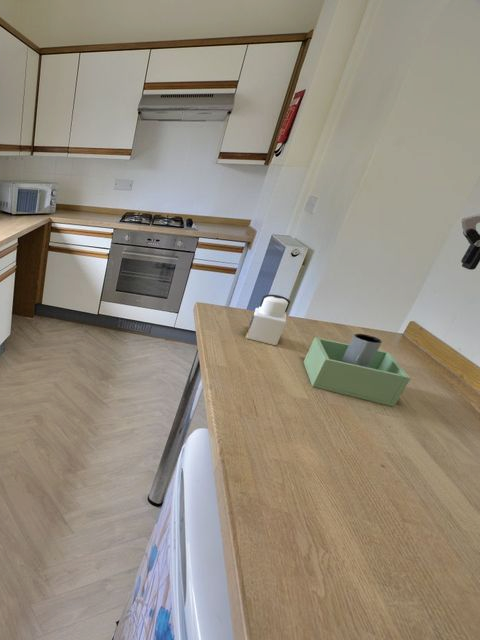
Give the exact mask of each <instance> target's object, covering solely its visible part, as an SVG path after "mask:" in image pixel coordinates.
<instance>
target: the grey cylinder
mask: <svg viewBox="0 0 480 640" xmlns="http://www.w3.org/2000/svg"><path fill="white" fill-rule="evenodd" d="M382 343H383V341H382V339H380V338H378V337H376V336H373V335H370V334H366V333H365V334H364V333H355V334H354V335H352V338H351V340H350V342H349V343H348V344H349V346H348V348H347V350H346V352H345V354H344V356H343V358H342V360H341V362H345V363H350V364H354V365H359V366H363V367H369V365H370V364H371V362H372V360H373V358H374V356H375V354H376V352H377V351H378V350H380V347H381V345H382Z"/></svg>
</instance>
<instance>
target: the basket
mask: <svg viewBox="0 0 480 640" xmlns="http://www.w3.org/2000/svg"><path fill="white" fill-rule="evenodd" d="M349 344H350V343H345V342H340V341H335V340H330V339H325V338H320V337H315V336H314V338H313V341H312V343H311V345H310V346H309V349H308V352H307V354H306V356H305V358H304V360H303V365H304V367H305V370H306V373H307V376H308V379H309V381H310V384H311V387H313V388H316V389H321V390H325V391H327V392H328V391H329V392H331V393H332V392H333V393H336V394H341V395H345V396H348V397H354V398H357V399H360V400H361V399H362V400H364V401H365V400H366V401H369V402H373V403H378V404H382V405H385V406H390V407H394V408H395V405H397V402H398V400H399V399H400V397H401V395H402V394H403V392H404V390H405V389H406V388H407V385H409V382H410V381H411V379H412V378H411V376H410V375H409V374H408V373H407V372H406V371H405V369H404V368H403V366H401V364H400V363H399V362H398V360H397V359H396V358H395V357H394V356H393V355H392V353H391V352H389V351H385V350H380V349H378V351H377V352H376V354H375V356H374V358H373V360H372V362H371V364H370V365H369V367H363V366H359V365H354V364H350V363H345V362H341V360H342V358H343V356H344V354H345V352H346V350H347V348H348V346H349Z"/></svg>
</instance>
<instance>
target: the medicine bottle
mask: <svg viewBox="0 0 480 640" xmlns="http://www.w3.org/2000/svg"><path fill="white" fill-rule="evenodd" d="M290 304H291V301H290V299H288V298H287V297H285V296H283V295H280V294H279V295H278V294H266V295H263V296H262V299H261V301H260V304H259V306H258V307H256V308H255V309H254V311H253V315H252V317H251V319H250V322H249V324H248V328H247V331H246V334H245V339H247V340H251V341H255V342H258V343H263V344H268V345H271V346H278V343H279V341H280V339H281V336H282V333H283V331H284V328H285V326H286V324H287V312H288V309H289V308H290V307H289V306H290Z"/></svg>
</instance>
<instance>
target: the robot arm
mask: <svg viewBox="0 0 480 640" xmlns="http://www.w3.org/2000/svg"><path fill="white" fill-rule="evenodd" d="M477 224H480V213H478V214H474V215H470V216H466V217H463V218H462V219H461V227H462V234H463V236H464V237H465V239H466V240H467V243H468V244H469V246H468V247H467V250H466V251H465V253H464V255H463V257H462V258H461V261H460V262H461V267H462V268H464V269H467V270H471V271H473V270H475V269H477V267H478V265H479V263H480V233H479V232H478V231H477Z"/></svg>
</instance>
